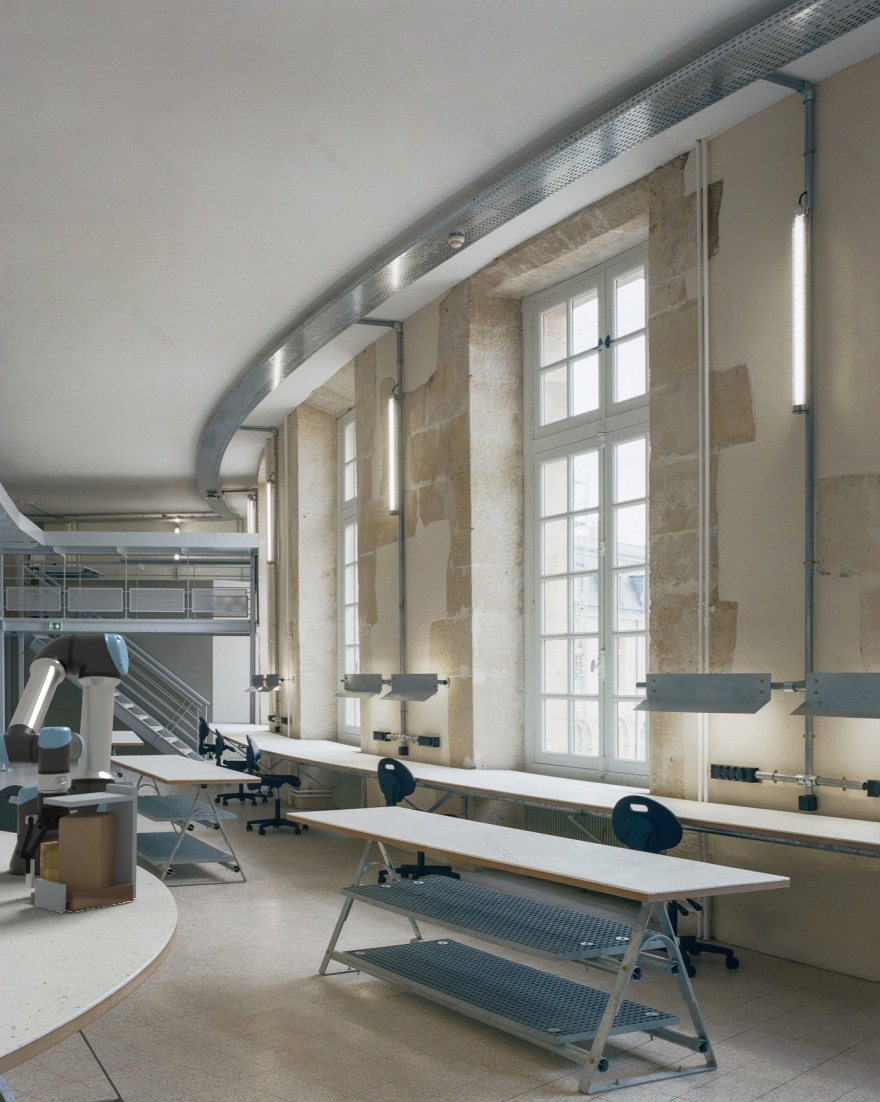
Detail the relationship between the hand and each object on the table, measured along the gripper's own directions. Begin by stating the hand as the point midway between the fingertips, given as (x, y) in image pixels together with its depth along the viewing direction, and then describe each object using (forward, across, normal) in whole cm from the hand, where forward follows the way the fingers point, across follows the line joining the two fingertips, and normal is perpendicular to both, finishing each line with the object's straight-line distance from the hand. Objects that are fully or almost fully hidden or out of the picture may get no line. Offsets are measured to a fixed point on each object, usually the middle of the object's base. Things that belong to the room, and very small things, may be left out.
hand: (51, 883), depth 268 cm
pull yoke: (+2, 0, -11) cm, 11 cm away
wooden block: (+2, 0, -16) cm, 16 cm away
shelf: (+2, 0, -16) cm, 16 cm away
